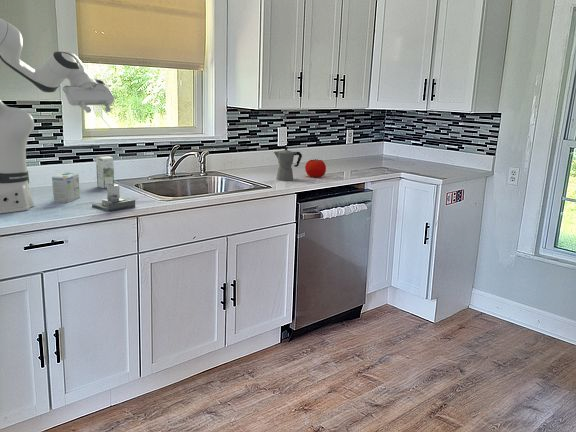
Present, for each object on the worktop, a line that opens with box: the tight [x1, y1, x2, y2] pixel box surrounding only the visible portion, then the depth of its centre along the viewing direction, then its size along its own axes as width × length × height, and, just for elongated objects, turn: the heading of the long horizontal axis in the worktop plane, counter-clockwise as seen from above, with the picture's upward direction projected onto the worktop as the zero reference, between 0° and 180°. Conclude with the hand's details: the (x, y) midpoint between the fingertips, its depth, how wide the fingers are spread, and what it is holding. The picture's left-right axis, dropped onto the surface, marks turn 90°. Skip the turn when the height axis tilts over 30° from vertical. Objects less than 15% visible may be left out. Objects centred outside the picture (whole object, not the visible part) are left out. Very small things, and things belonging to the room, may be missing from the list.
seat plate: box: [92, 198, 136, 213], centre depth 218 cm, size 12×12×3 cm
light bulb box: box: [51, 172, 81, 204], centre depth 226 cm, size 11×7×11 cm, turn 174°
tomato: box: [304, 158, 327, 178], centre depth 302 cm, size 12×12×10 cm
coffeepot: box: [273, 146, 303, 182], centre depth 290 cm, size 15×9×18 cm, turn 86°
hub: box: [101, 183, 126, 206], centre depth 217 cm, size 6×6×8 cm
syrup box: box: [95, 155, 115, 189], centre depth 252 cm, size 6×6×14 cm
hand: (99, 111), depth 221 cm, fingers open, 8 cm apart
